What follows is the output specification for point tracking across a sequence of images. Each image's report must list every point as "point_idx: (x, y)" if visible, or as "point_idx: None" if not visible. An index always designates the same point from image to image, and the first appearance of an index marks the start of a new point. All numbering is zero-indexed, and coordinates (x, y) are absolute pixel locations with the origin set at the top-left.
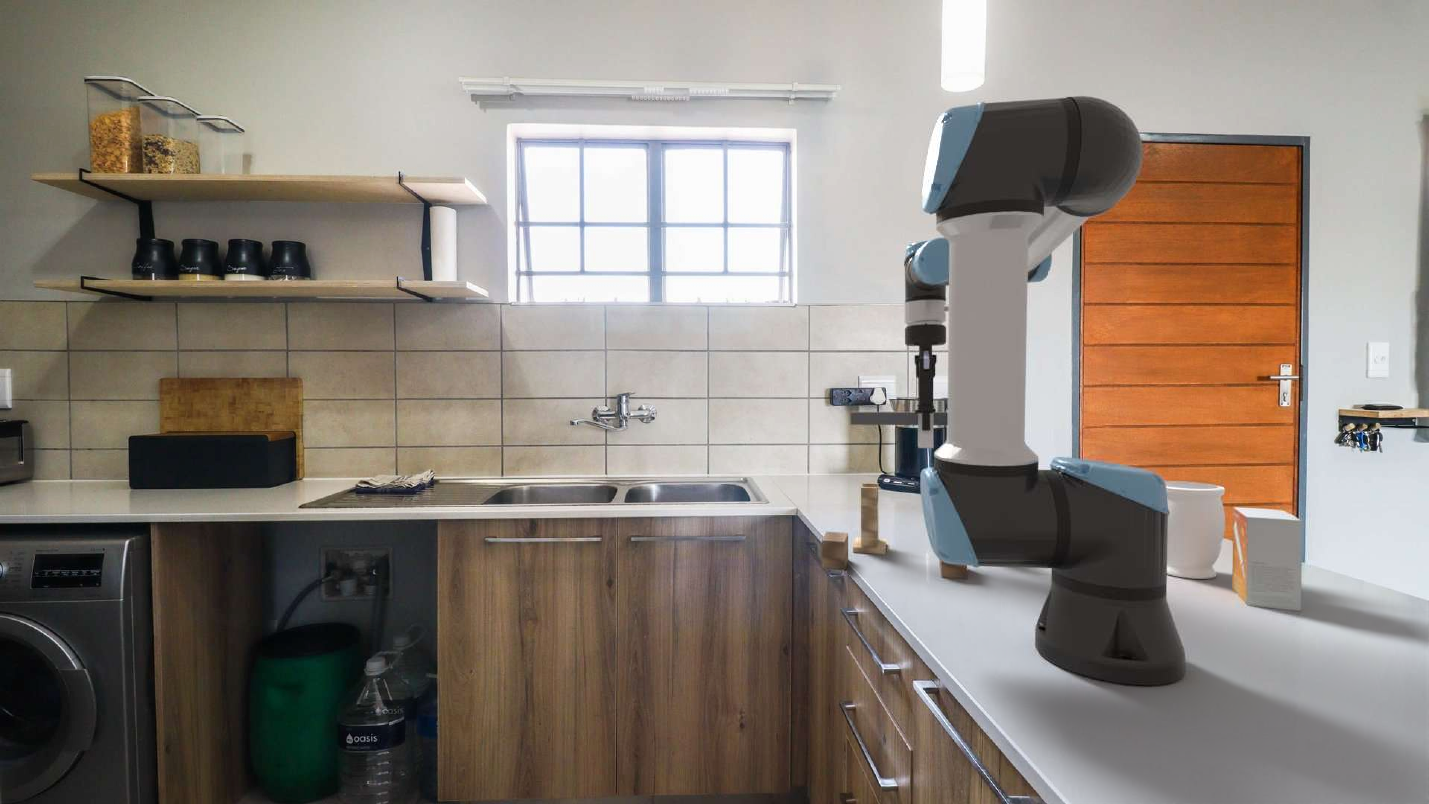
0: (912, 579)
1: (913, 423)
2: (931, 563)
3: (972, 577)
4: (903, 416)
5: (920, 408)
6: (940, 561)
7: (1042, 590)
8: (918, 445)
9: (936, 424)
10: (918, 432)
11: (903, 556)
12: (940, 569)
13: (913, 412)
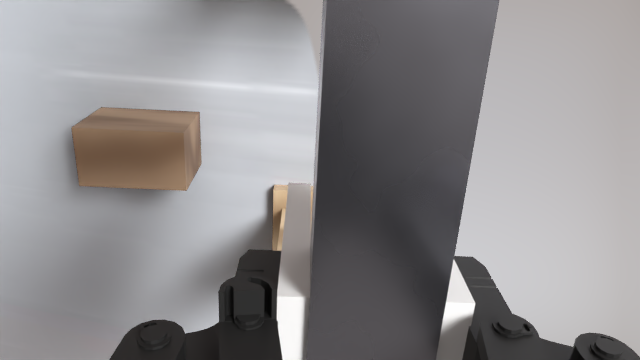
0: (58, 38)
1: (311, 222)
2: (217, 95)
3: None
4: (315, 175)
5: (129, 336)
6: (138, 116)
7: (82, 280)
8: (289, 188)
9: None
10: (284, 223)
11: (269, 27)
12: (145, 110)
13: (323, 269)
